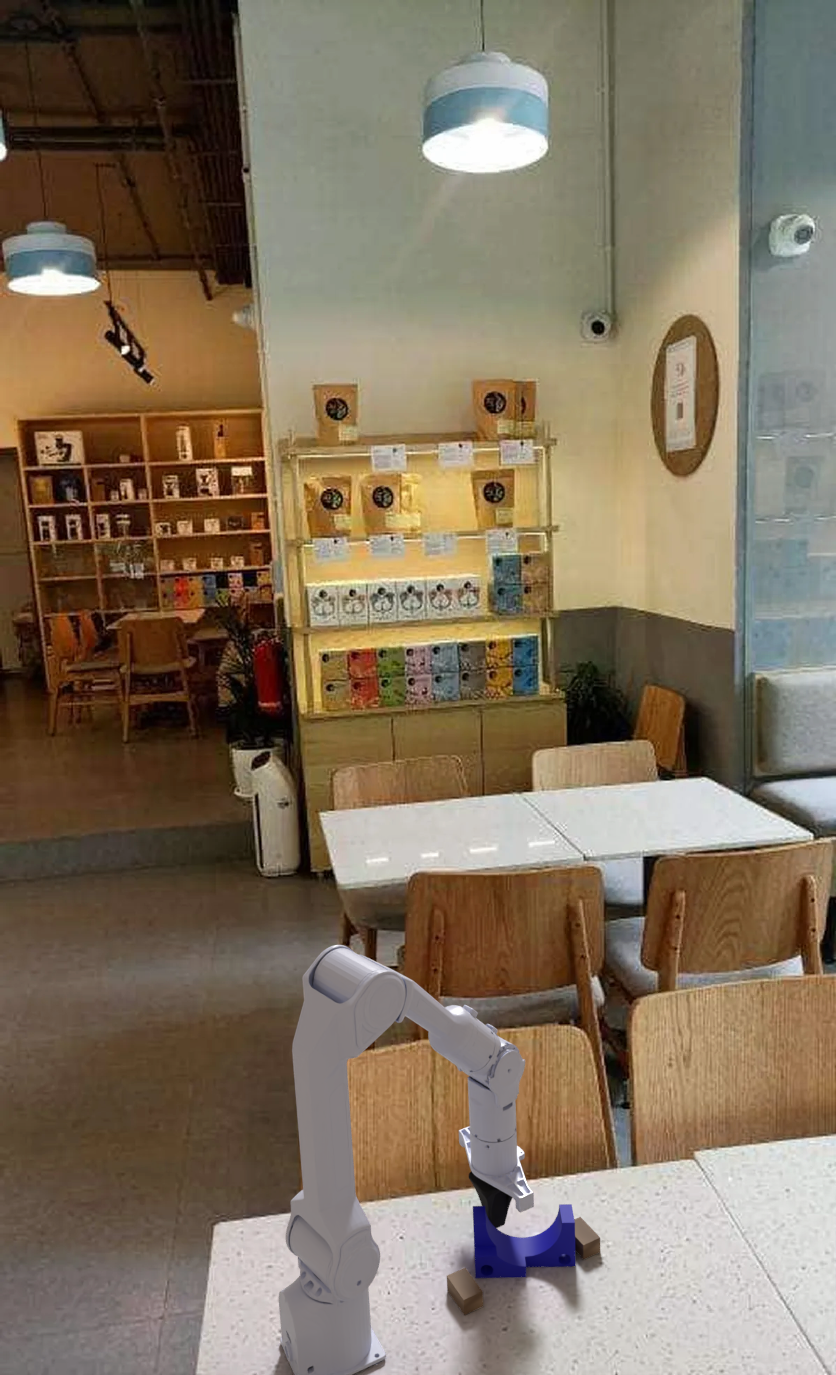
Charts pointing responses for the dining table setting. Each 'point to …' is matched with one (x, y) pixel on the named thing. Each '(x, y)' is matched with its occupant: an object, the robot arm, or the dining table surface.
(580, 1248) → the end blocks
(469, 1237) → the dining table surface
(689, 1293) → the dining table surface
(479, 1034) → the robot arm
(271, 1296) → the dining table surface
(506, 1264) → the blue block with holes
